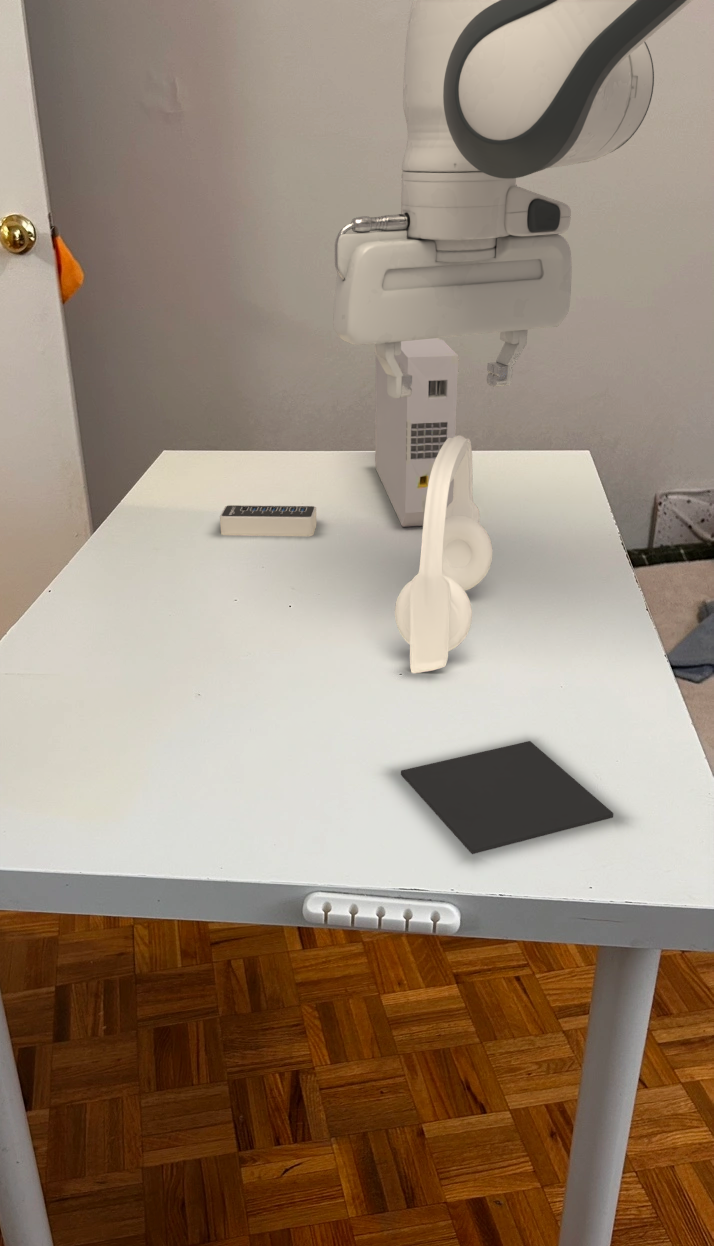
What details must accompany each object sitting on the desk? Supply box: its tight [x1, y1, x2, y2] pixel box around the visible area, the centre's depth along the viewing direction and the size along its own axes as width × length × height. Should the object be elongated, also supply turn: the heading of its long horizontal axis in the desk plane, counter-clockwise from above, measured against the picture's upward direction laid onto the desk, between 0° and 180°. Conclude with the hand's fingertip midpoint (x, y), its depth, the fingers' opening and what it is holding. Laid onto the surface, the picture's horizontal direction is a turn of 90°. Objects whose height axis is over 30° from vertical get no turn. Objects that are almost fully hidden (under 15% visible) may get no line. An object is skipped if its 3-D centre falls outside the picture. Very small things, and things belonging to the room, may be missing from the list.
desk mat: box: [400, 740, 614, 855], centre depth 79 cm, size 11×11×1 cm
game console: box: [374, 338, 460, 528], centre depth 136 cm, size 6×27×20 cm, turn 4°
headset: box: [394, 434, 494, 674], centre depth 100 cm, size 20×7×18 cm, turn 165°
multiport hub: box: [219, 504, 318, 537], centre depth 131 cm, size 4×11×2 cm, turn 84°
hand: (449, 390), depth 93 cm, fingers open, 8 cm apart
